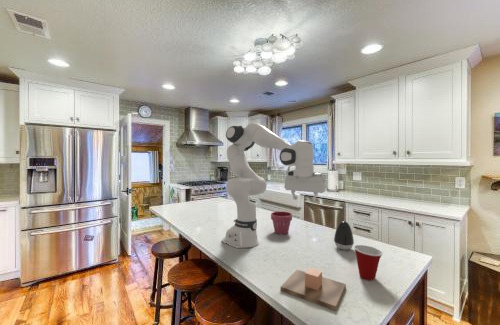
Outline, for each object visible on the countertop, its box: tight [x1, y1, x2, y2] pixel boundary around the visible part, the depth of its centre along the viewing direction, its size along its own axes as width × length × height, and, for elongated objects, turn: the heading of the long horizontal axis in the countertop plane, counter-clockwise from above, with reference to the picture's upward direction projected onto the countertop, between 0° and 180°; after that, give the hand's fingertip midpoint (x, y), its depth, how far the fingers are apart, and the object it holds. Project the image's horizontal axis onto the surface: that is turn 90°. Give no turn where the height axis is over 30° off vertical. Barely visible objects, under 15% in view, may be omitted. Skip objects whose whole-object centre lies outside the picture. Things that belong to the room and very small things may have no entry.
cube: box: [304, 267, 323, 290], centre depth 86 cm, size 5×5×5 cm
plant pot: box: [270, 210, 293, 235], centre depth 153 cm, size 14×14×13 cm
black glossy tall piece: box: [333, 220, 355, 251], centre depth 126 cm, size 10×10×15 cm
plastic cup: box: [353, 244, 384, 281], centre depth 95 cm, size 11×11×12 cm
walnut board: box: [280, 269, 347, 312], centre depth 86 cm, size 20×16×2 cm
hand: (304, 200), depth 113 cm, fingers open, 8 cm apart
